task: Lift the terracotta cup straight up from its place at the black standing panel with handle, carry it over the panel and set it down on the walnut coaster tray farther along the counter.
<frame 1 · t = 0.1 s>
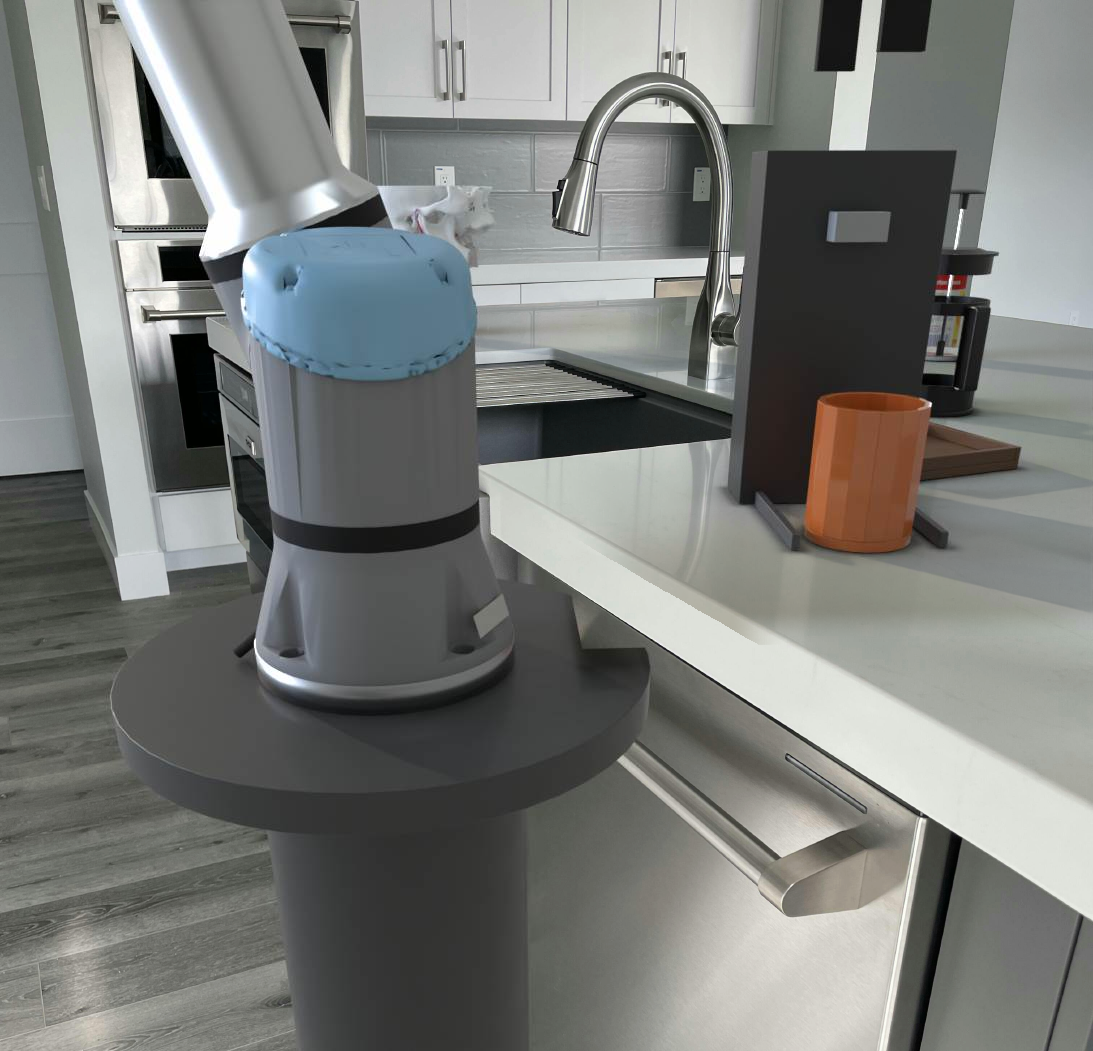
hand: (864, 63, 70), 31 cm above the worktop, tool pointing down, fingers open, 13 cm apart
coaster: (913, 459, 103), on the worktop
standing panel with handle: (844, 525, 84), on the worktop
cup: (856, 537, 82), on the worktop
skull: (428, 334, 186), on the worktop
canned food: (926, 358, 161), on the worktop
french press: (933, 411, 125), on the worktop
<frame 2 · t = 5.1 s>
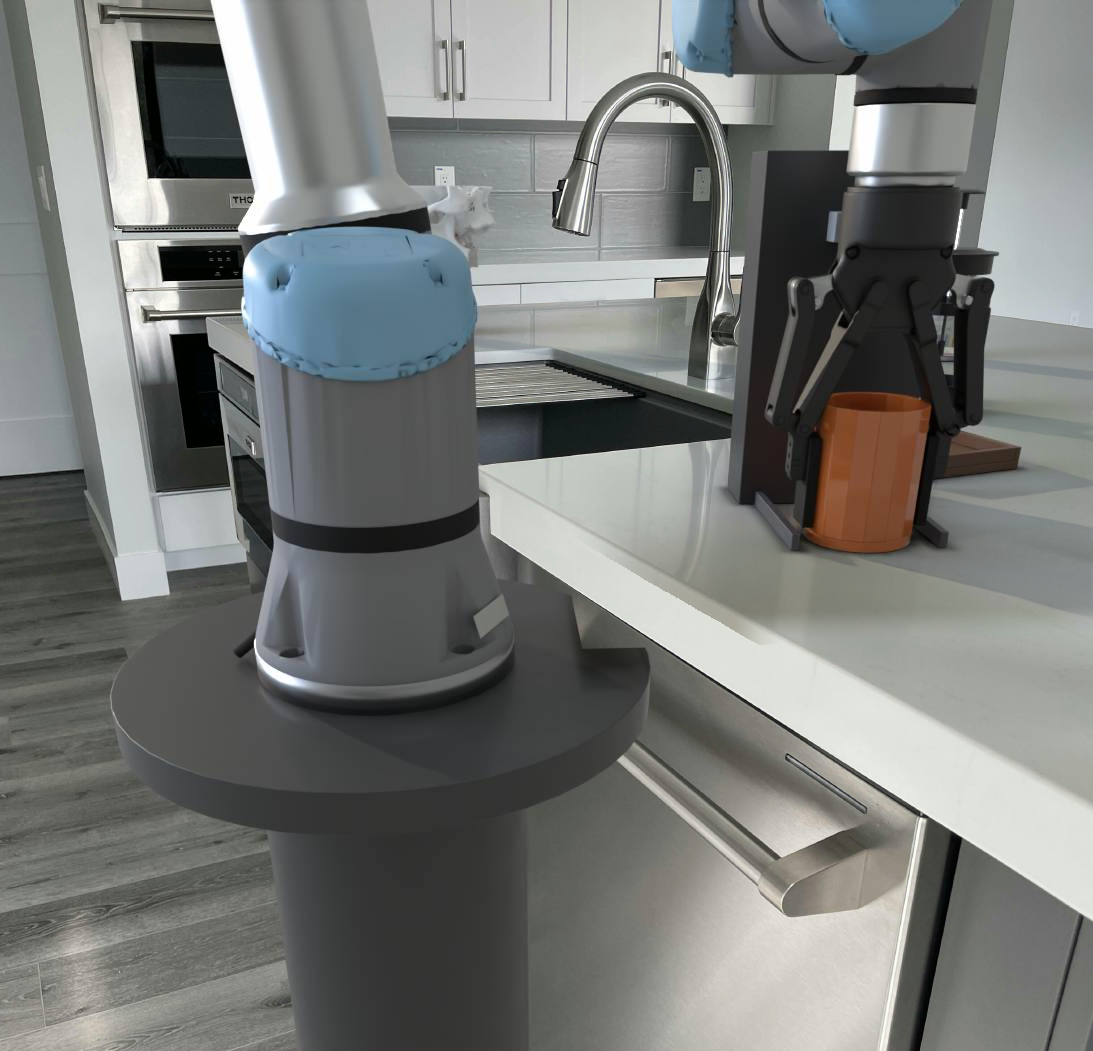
hand: (858, 521, 81), 1 cm above the worktop, tool pointing down, fingers closed on cup, 8 cm apart
cup: (856, 536, 81), on the worktop, touching gripper
everything else where it was.
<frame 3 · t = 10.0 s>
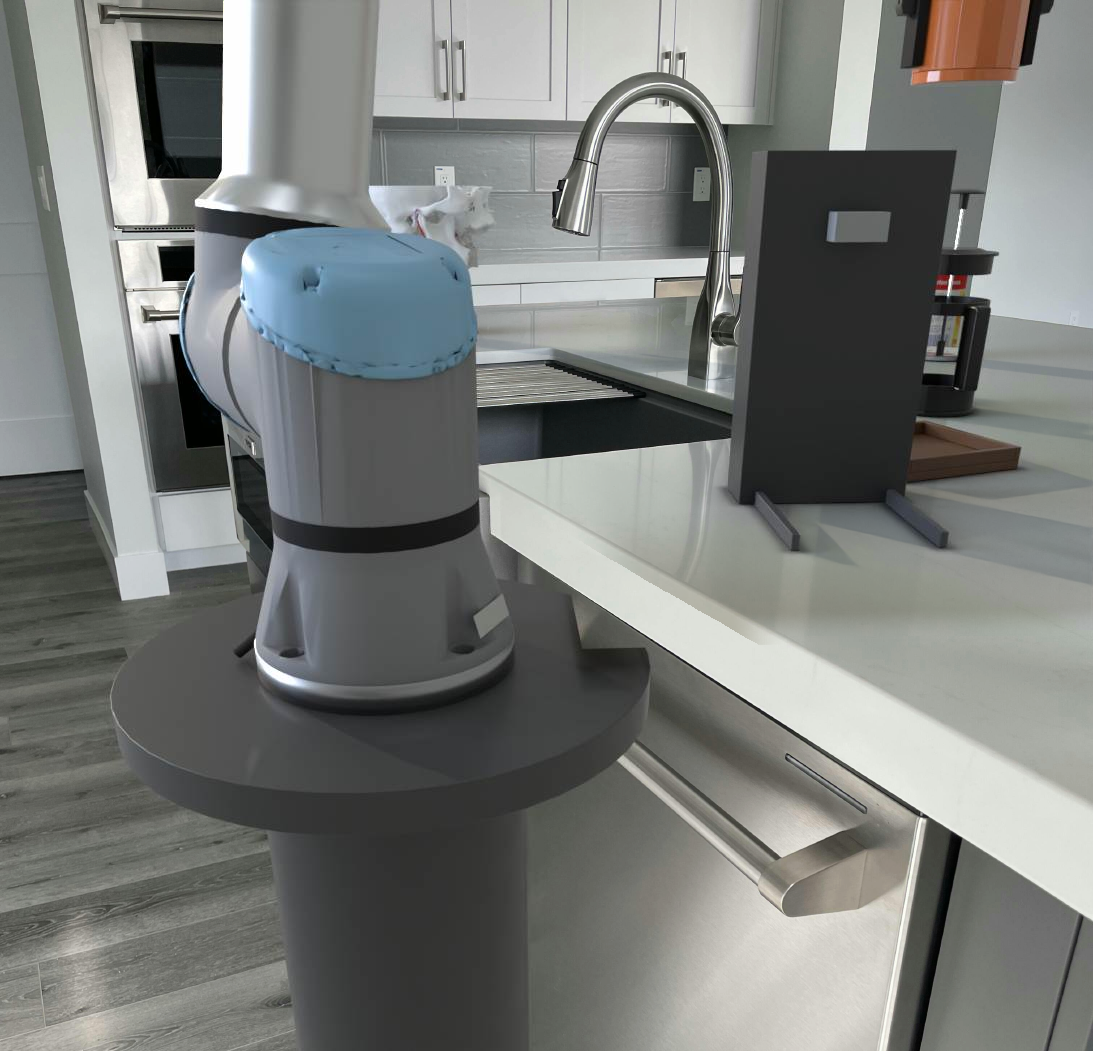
hand: (965, 66, 83), 32 cm above the worktop, tool pointing down, fingers closed on cup, 8 cm apart
cup: (962, 84, 84), point 31 cm above the worktop, touching gripper
everything else where it was.
when the fingers open (2 cm above the worktop, at t = 15.0 s): cup stays where it is, resting on coaster.
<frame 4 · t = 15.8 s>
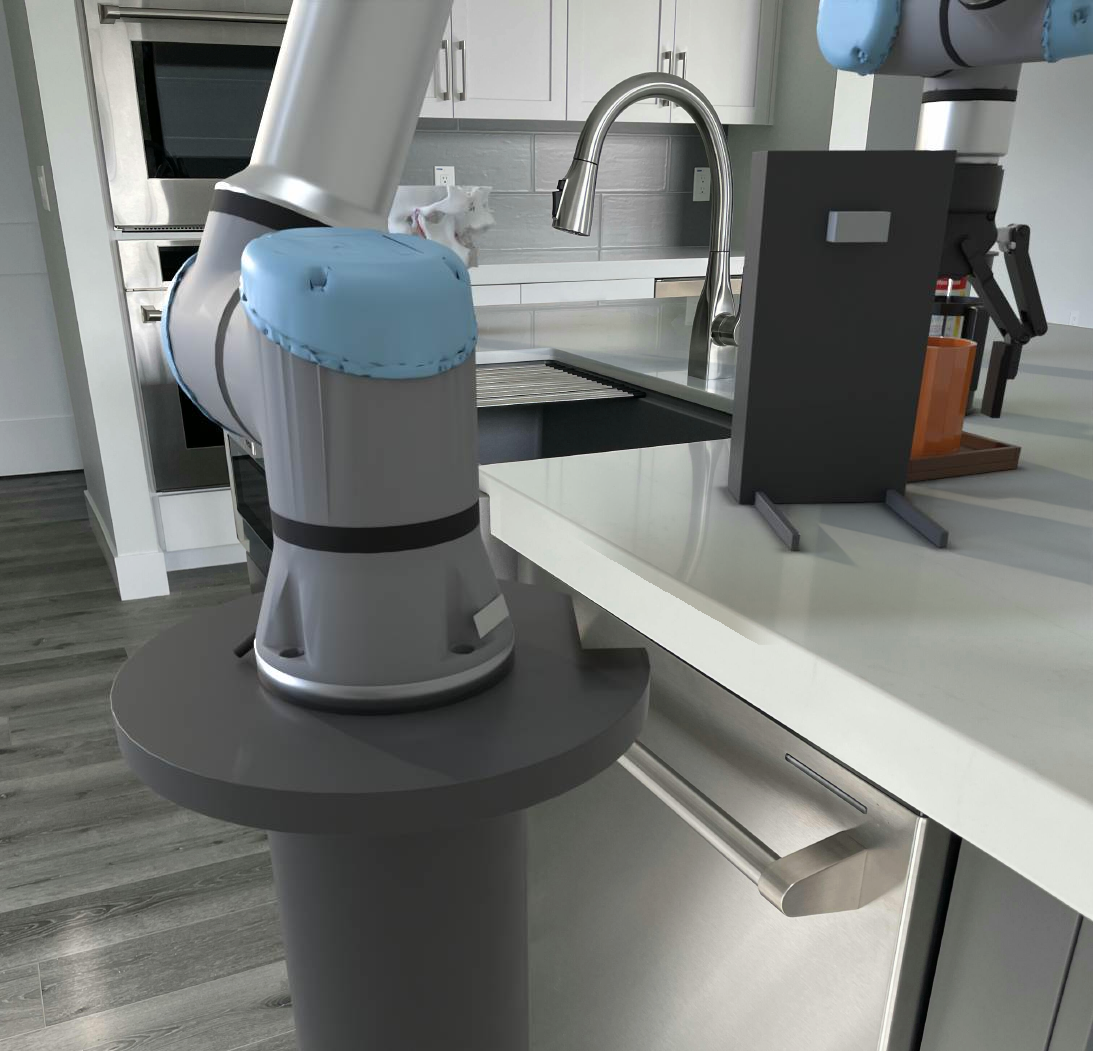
hand: (919, 416, 101), 4 cm above the worktop, tool pointing down, fingers open, 13 cm apart
cup: (914, 451, 103), point 1 cm above the worktop, touching coaster
everything else where it was.
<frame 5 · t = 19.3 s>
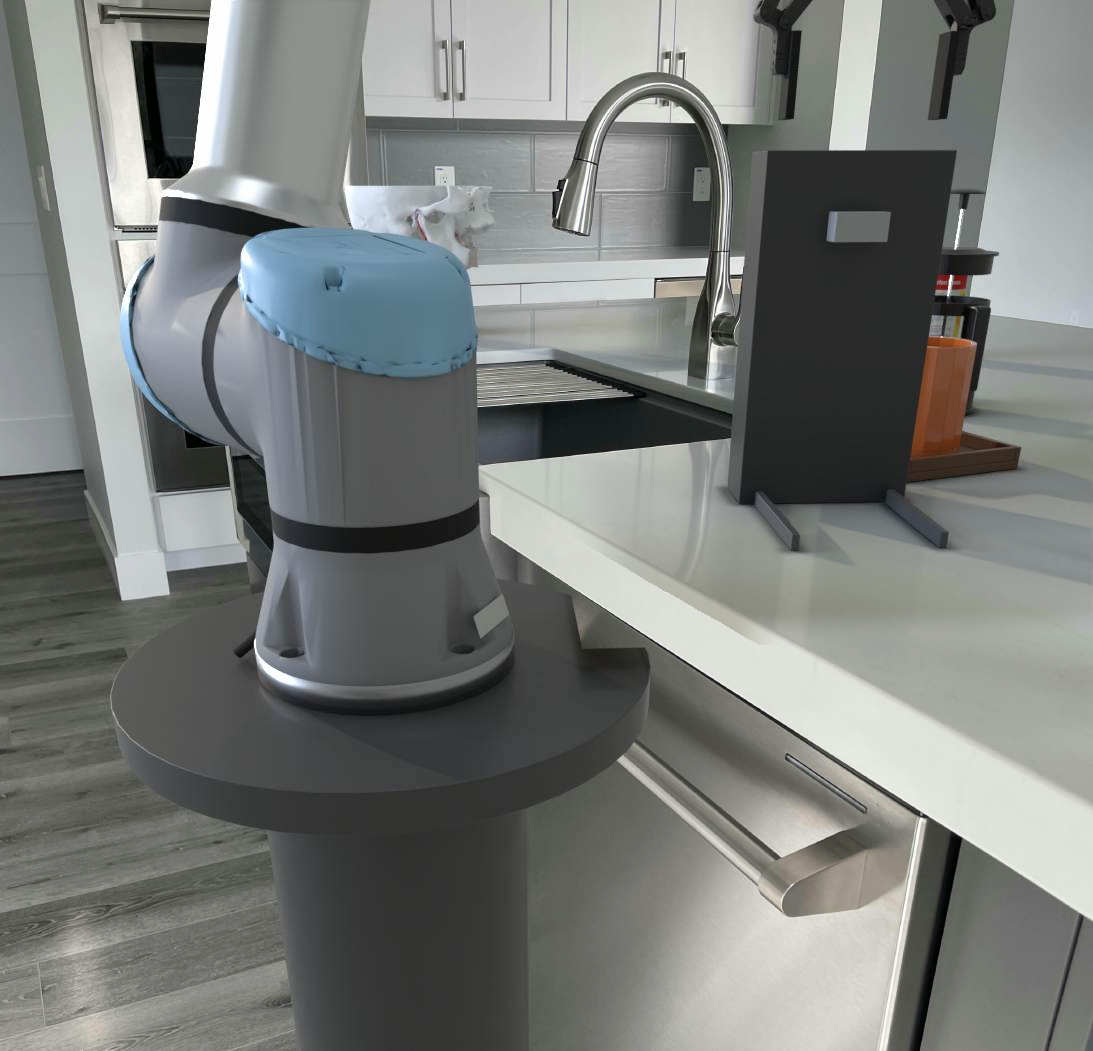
hand: (861, 120, 95), 29 cm above the worktop, tool pointing down, fingers open, 13 cm apart
nothing on the worktop moved.
at the end: cup inside the target area in the coaster (0.0 cm from its centre), point 0.8 cm above the coaster's base; cup tilted 0°; the gripper is holding nothing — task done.
